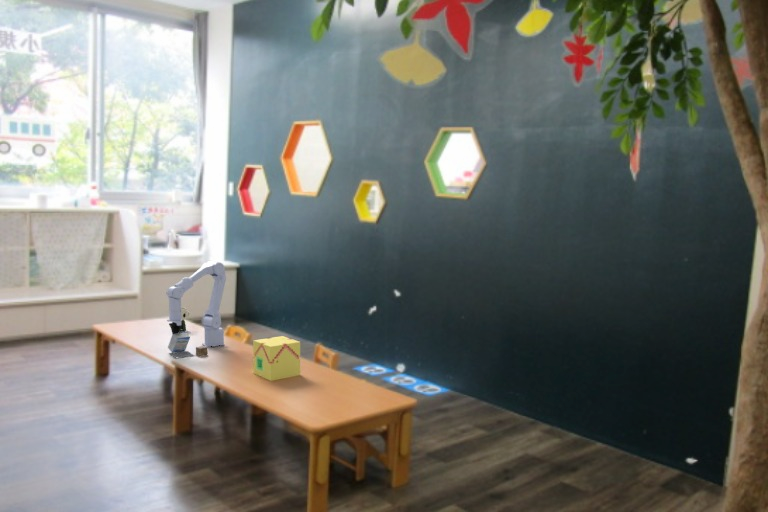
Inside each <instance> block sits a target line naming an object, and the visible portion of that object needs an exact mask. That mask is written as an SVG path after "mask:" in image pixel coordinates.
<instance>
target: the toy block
mask: <svg viewBox="0 0 768 512" xmlns="http://www.w3.org/2000/svg"><path fill="white" fill-rule="evenodd" d="M252 343H253V345H252V346H253V347H252V348H253V349H252V351H253V354H252V355H253V361H252V362H253V368H252V369H253V374H255V375H257V376H260V377H261V378H263V379H266V380H268V381H271V382H272V381H277V380H282V379H287V378H292V377H297V376H301V358H300V357H301V341H298V340H295V339H293V338H292V339H291V338H289V337H286V336H284V335H281V336H274V337H273V336H272V337H270V338H260V339H254V340H252Z"/></svg>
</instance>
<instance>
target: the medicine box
mask: <svg viewBox="0 0 768 512" xmlns="http://www.w3.org/2000/svg"><path fill="white" fill-rule="evenodd" d="M190 339H191V336H190V335H189V334H188V333H187V332H179V333H177V334H172V335H171V337H170V341H169V342H168V345H167V349H168V350H169V351H170V353H175V352H183V351H187V347H188V345H189V344H188V343H189V341H190Z"/></svg>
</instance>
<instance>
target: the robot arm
mask: <svg viewBox="0 0 768 512" xmlns="http://www.w3.org/2000/svg"><path fill="white" fill-rule="evenodd" d="M206 275H210V276H211V277H212V279H214V281H213V282H214V283H213V287H212V292H211V296H210V300H209V305H208V309H207V310H206V311H205V312H204V314H203V317H202V318H201V324H202V325H203V328H204V342H202V346H205V347H207V348H211V346H212V347H217V346H218V347H220V346H224V345H225V340H224V339H225V338H224V337H225V335H224V333H225V332H224V329H223V328H222V327H221V325H222V319H221V318H222V315H221V313H220V307H221V305H222V304H221V303H222V299H223V293H224V289H225V284H226V280H227V276H226V266H225V265H224V263H222V262H219V261H212V260H209V261H206V262H205V263H203V264H202V265H201V267H200V268H198V270H196V271H195V272H194V273H193V274H191V275H190V276H189V277H187V276H185V277H183V278H181V280H180V281H179V282H177V283H175V284H174V286H170V287H169V288H168V289H167V291H166V296H167V297H168V309H169V310H168V311H169V312H168V313H169V314H168V315H169V319H166V322H170V323H168V326H169V327H170V330H171V333H172V334H177V333H180V328H181V326H182V324H181V321H182V319H181V308H182V298H183V296H184V293H186V292H187V291H188V290H190V289H191V288H192V287H193V286H194V283H195V282H197V281H198V280H200V279H201V278H202V277H204V276H206ZM219 345H220V346H219Z"/></svg>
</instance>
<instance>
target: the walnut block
mask: <svg viewBox="0 0 768 512" xmlns="http://www.w3.org/2000/svg"><path fill="white" fill-rule="evenodd" d="M208 351H209V350H208V347H206V346H204V345H201V346H196V347H195V356H197V355H199V356H198V357H200V356H201V357H204V356H203V355H205V356H208V355H207V354H208Z"/></svg>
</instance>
